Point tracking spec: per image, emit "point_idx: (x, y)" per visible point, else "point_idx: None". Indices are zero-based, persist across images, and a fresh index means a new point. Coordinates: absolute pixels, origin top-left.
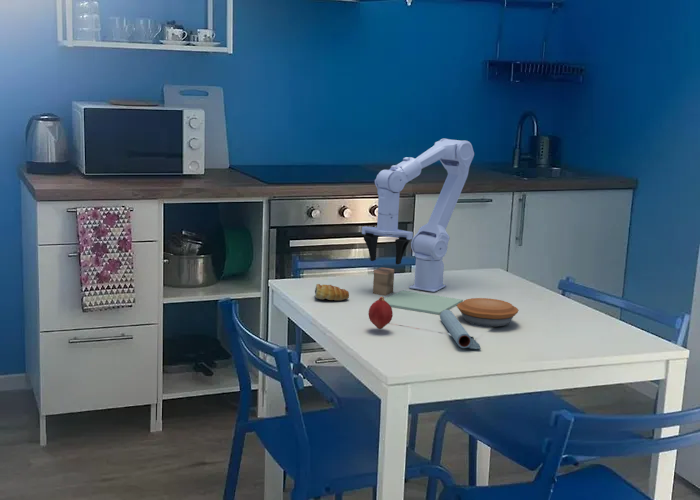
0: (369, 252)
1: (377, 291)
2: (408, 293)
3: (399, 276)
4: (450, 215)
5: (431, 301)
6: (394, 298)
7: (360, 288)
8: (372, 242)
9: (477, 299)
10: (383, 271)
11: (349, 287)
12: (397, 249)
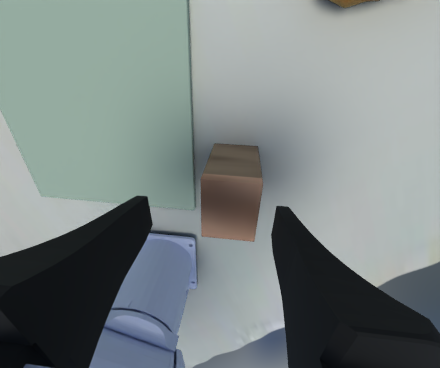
0: (308, 231)
1: (242, 149)
2: (167, 188)
3: (261, 318)
4: None
5: (71, 134)
6: (166, 105)
7: (313, 195)
8: (308, 301)
9: None
10: (217, 180)
11: (348, 190)
12: (78, 241)
